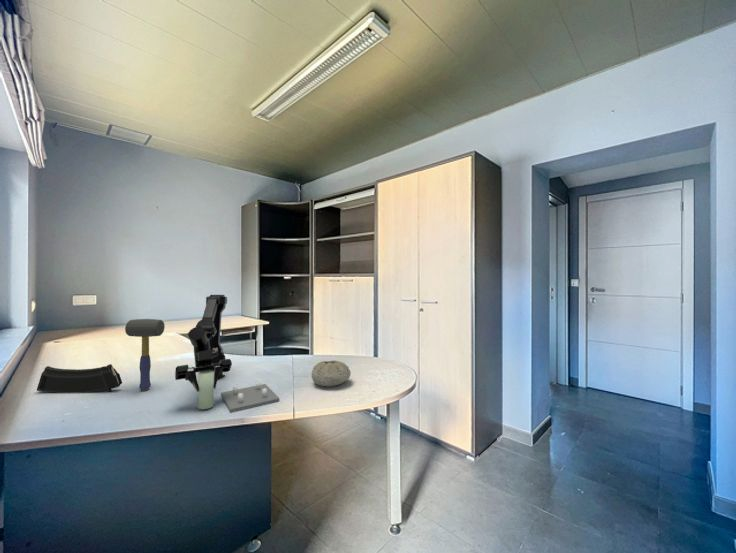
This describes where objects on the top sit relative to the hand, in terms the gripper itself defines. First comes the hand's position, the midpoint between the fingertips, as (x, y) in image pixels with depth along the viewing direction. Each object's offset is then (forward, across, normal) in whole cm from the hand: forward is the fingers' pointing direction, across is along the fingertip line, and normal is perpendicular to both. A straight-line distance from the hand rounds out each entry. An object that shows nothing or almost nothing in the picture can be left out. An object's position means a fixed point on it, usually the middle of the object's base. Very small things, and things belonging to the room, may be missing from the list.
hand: (206, 389), depth 113 cm
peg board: (+4, +16, +6) cm, 18 cm away
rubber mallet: (-18, -18, +29) cm, 39 cm away
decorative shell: (+6, +51, +5) cm, 52 cm away
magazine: (-27, -40, +38) cm, 61 cm away
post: (+4, 0, +6) cm, 7 cm away
